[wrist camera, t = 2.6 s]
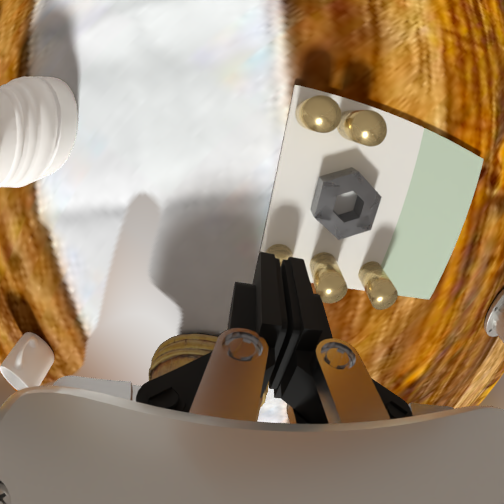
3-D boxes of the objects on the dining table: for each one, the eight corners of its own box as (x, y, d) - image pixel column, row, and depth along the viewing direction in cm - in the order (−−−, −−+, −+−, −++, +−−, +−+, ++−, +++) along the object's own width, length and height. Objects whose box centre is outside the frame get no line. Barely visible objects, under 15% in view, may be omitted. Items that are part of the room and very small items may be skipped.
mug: (56, 337, 40) (29, 378, 31) (55, 366, 45) (34, 403, 36) (23, 313, 38) (-7, 349, 29) (25, 345, 43) (2, 378, 34)
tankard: (293, 372, 40) (302, 529, 18) (203, 419, 48) (186, 530, 26) (197, 309, 35) (145, 506, 13) (124, 376, 43) (80, 494, 21)
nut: (378, 174, 26) (386, 179, 24) (359, 236, 29) (365, 245, 27) (322, 159, 25) (327, 163, 23) (306, 225, 28) (309, 234, 26)
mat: (479, 157, 24) (483, 159, 23) (426, 296, 33) (429, 299, 32) (294, 85, 23) (295, 84, 22) (256, 269, 32) (255, 273, 31)
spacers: (425, 138, 23) (452, 145, 19) (376, 285, 31) (390, 310, 27) (298, 95, 23) (306, 90, 18) (262, 266, 31) (261, 293, 26)
